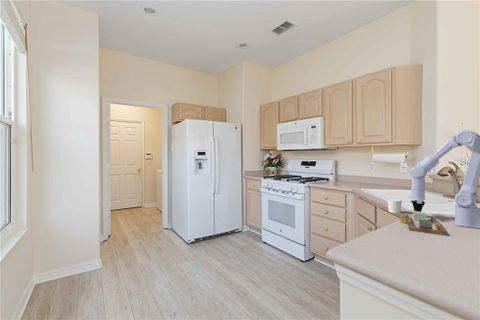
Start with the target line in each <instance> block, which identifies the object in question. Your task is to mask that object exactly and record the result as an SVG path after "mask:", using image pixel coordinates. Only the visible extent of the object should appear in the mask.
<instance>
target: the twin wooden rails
mask: <svg viewBox="0 0 480 320" xmlns="http://www.w3.org/2000/svg"><path fill="white" fill-rule="evenodd" d="M405 218H406V225H407V227H408V230H409V231H411V232H417V233H426V234H433V235H440V236H447V231H446V230H445V229H444V228H443V226H441V224H440V223H439V222H438V220H437V219H436V218H435V217H430V221H431V222H432V226H434V227H435V229H433V228H432V229H428V228H420V227H419V226H414V224H413V223H412V220H411V218H410V216H409V214H405Z"/></svg>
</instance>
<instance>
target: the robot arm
mask: <svg viewBox="0 0 480 320" xmlns="http://www.w3.org/2000/svg"><path fill="white" fill-rule="evenodd" d="M462 146H464V147H466V148H467V149H468V150H469V151H470V153H471V154H470V157H469V158H470V159H469V161H468V164H467V167H466V171H465V174H464V179H463V182H462V185H461V187H460V188H459V191H458V193H456V195H455V196H454V202H455V204H454V207H455V208H454V220H452V221H451V222H452V223H453V224H454V225H455V226H457V227H463V228H465V227H467V228H473V229H480V207H478V205H477V204H476V203H477V202H478V196H477V192H478V184H479V182H480V134H478V133H477V132H475V131H472V130H468V129H467V130H466V129H465V130H461V131H459V132H458V133H456V134H455V135H453V136H452V137H451V138H449V140H447V141H446V142H445V143H444V144H443V145H442V146H441V147H440V148H439V149H438V150H437V151H435V153H434V154H432V155H426V156H424V157H423V158H422V160H421V161H420V162H419V163H416V164H415V166H413V167H411V169H410V171H409V174H410V176H411V182H410V183H411V185H410V187H411V188H410V190H411V191H410V196H407V197H408V199H411V200H410V202H411V204H412V208H413V211H418V212H423V211H422V210H423V207H424V206H425V204H426V202H425V200H426V198H425V197H426V194H425V193H426V176H427V174H428V173H429V172H430V171H431V170H433V169H434V168H435V167H437V165H438V164H440V159H441V158H443V157H444V156H445V155H446V154H448V153H450V151H452V150H454V149H455V148H459V147H462Z"/></svg>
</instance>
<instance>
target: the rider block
mask: <svg viewBox="0 0 480 320" xmlns="http://www.w3.org/2000/svg"><path fill="white" fill-rule="evenodd" d="M412 219H413V221H414V222H419V220H427V221H428V213H426V212H425V211H421V212H418V211H414V210H412Z"/></svg>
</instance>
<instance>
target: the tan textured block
mask: <svg viewBox="0 0 480 320" xmlns="http://www.w3.org/2000/svg"><path fill="white" fill-rule="evenodd" d="M400 214H401V215H400V216H399V218H400V220H399V222H400V224H405V225H407V222H406V218H405V215H406V214H405V213H400Z"/></svg>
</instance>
